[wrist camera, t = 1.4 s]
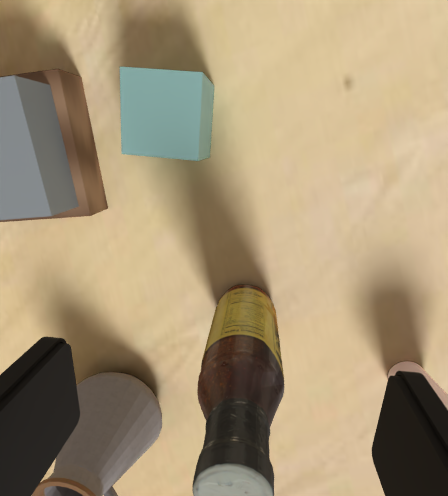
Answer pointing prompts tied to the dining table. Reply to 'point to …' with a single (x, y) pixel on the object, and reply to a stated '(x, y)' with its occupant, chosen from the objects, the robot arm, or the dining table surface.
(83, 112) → the bottom block
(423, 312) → the dining table surface
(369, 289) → the dining table surface
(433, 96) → the dining table surface
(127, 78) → the teal cube
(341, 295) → the dining table surface
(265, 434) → the sauce bottle
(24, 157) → the top block
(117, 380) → the coffee pot
